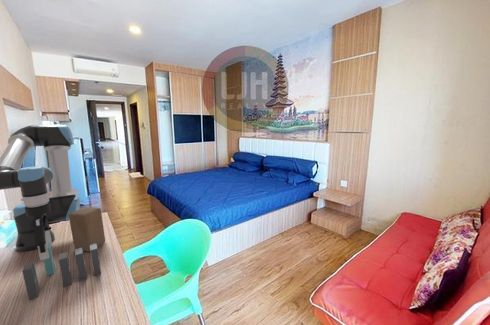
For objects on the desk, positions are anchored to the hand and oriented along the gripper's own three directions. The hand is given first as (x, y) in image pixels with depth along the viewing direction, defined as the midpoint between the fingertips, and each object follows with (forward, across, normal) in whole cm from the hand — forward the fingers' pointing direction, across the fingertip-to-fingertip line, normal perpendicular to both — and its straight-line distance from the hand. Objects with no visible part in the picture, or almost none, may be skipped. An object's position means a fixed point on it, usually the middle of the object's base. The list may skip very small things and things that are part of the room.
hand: (46, 251), depth 93 cm
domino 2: (+10, -1, 0) cm, 10 cm away
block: (+10, -14, +15) cm, 23 cm away
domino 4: (+10, +12, +11) cm, 20 cm away
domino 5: (+10, +12, +16) cm, 23 cm away
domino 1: (+10, +12, -4) cm, 17 cm away
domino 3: (+10, +12, +6) cm, 17 cm away
